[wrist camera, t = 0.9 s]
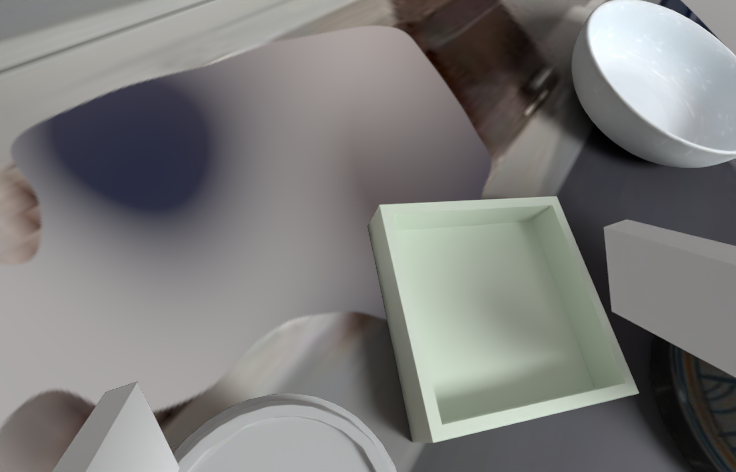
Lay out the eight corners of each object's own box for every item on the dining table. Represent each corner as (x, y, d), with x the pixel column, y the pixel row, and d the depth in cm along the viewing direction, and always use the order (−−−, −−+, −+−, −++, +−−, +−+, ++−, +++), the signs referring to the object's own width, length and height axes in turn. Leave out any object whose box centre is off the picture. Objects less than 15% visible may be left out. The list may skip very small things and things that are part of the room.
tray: (367, 226, 33) (379, 204, 30) (531, 215, 38) (556, 196, 34) (412, 442, 27) (433, 442, 24) (601, 397, 31) (639, 393, 28)
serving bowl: (557, 24, 52) (597, -30, 46) (701, 96, 53) (758, 53, 47) (532, 136, 42) (578, 87, 36) (710, 224, 43) (784, 189, 37)
